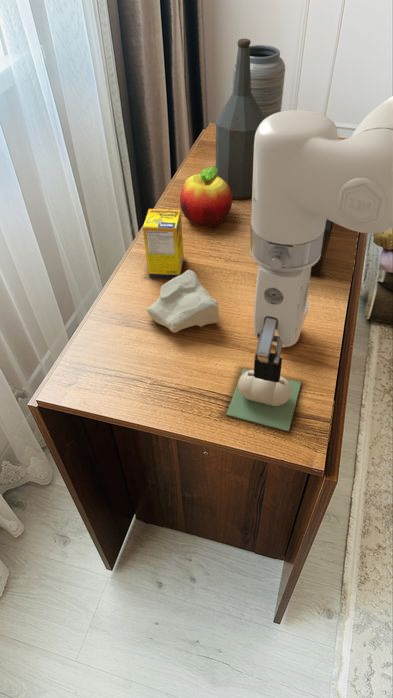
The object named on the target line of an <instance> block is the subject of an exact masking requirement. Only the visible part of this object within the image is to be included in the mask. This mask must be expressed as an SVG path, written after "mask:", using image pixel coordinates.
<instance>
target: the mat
mask: <svg viewBox="0 0 393 698" xmlns="http://www.w3.org/2000/svg"><path fill="white" fill-rule="evenodd" d="M249 370H250V369H247V368H242V371H241V373H240V376H239V378H238V381H237V384H236V387H235V390H234V392H233V394H232V399H231V401H230V402H229V406H228V408H227V411H226V416H228V417H231V418H235V419H239V420H242V421H245V422H250V423H253V424H258V425H261V426H265V427H269V428H272V429H276V430H280V431H284V432H290V428H291V425H292V422H293V421H292V420H293V417H294V413H295V409H296V405H297V402H298V397H299V394H300V390H301V386H302V382H300V381H296V380H292V379H289V378H285V379H286V380H287V381H288V382H289V383H290V386H291V396H290V398H289V400H288V401H287V402H286V403H285V404H283V405H280V406H271V405H267V404H264V403H260V402H256V401H252V400H249V399H246V398H245V397H244V396H243V395H242V394H241V393H240V391H239V386H238V383H239V379H240V377H241V376H242V375H243V374H244V373H245V372H247V371H249Z"/></svg>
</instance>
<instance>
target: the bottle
mask: <svg viewBox="0 0 393 698" xmlns="http://www.w3.org/2000/svg"><path fill="white" fill-rule="evenodd" d="M249 46H251V40H250V39H249V38H240V39H238V40H237V53H236V60H237V61H236V60H235V61H236V69H235V78H234V86H233V93H232V92H231V94H230V96H229V97H228V100H226V103H225V104H224V106H223V108H222V110H221V111H220V113H219V114H218V117H217V119H216V121H215V166H216V168H217V169H218V172H217V174H216V175H217V176H219V177H220V178H221V179H223V180H224V181H225V182H226V183H227V185H228V186H229V188H230V191H231V195H232V200H245V199H249V198H252V186H253V159H254V140H255V134H256V131H257V128H258V126H259V125H260V123H261V122H262V121H263V120H264V119H265V117H264V115H263V113H262V112H261V110H260V108H259V106H258V104H257V102H256V100H255V98H254V96H253V95H252V93H251V73H250V48H249Z"/></svg>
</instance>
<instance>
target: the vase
mask: <svg viewBox="0 0 393 698" xmlns="http://www.w3.org/2000/svg"><path fill="white" fill-rule="evenodd" d="M249 48H250V73H251V93H252V95H253V96H254V98H255V100H256V102H257V104H258V106H259V108H260V110H261V112H262V113H263V115H264V117H265V119H266V118H267V117H269V116H270V115H272V114H275V113H278V112H282V107H283V106H282V105H283V96H284V86H285V76H286V64H285V62H284V60H283V58H282V57H281V50H280V49H279V48H278V47H275V46H271V45H267V44H266V45H265V44H254V45H250V46H249ZM236 61H237V59H235V61H234V63H233V66H232V87H231V94H232V93H233V86H234V78H235V69H236Z"/></svg>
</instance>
